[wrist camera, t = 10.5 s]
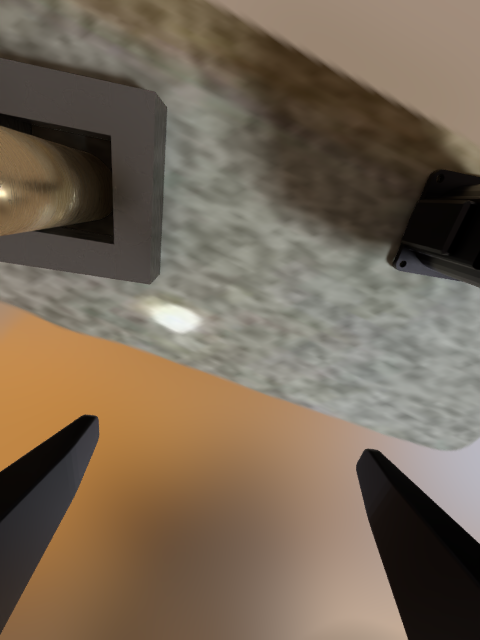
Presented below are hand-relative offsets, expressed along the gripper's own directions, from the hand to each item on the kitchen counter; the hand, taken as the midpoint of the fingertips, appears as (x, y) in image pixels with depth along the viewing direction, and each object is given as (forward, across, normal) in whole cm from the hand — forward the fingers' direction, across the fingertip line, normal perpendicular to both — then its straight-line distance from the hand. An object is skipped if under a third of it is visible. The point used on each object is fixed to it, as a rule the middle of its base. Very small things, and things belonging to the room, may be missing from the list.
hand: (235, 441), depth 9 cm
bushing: (+13, +11, -6) cm, 18 cm away
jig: (+13, +11, -6) cm, 18 cm away
